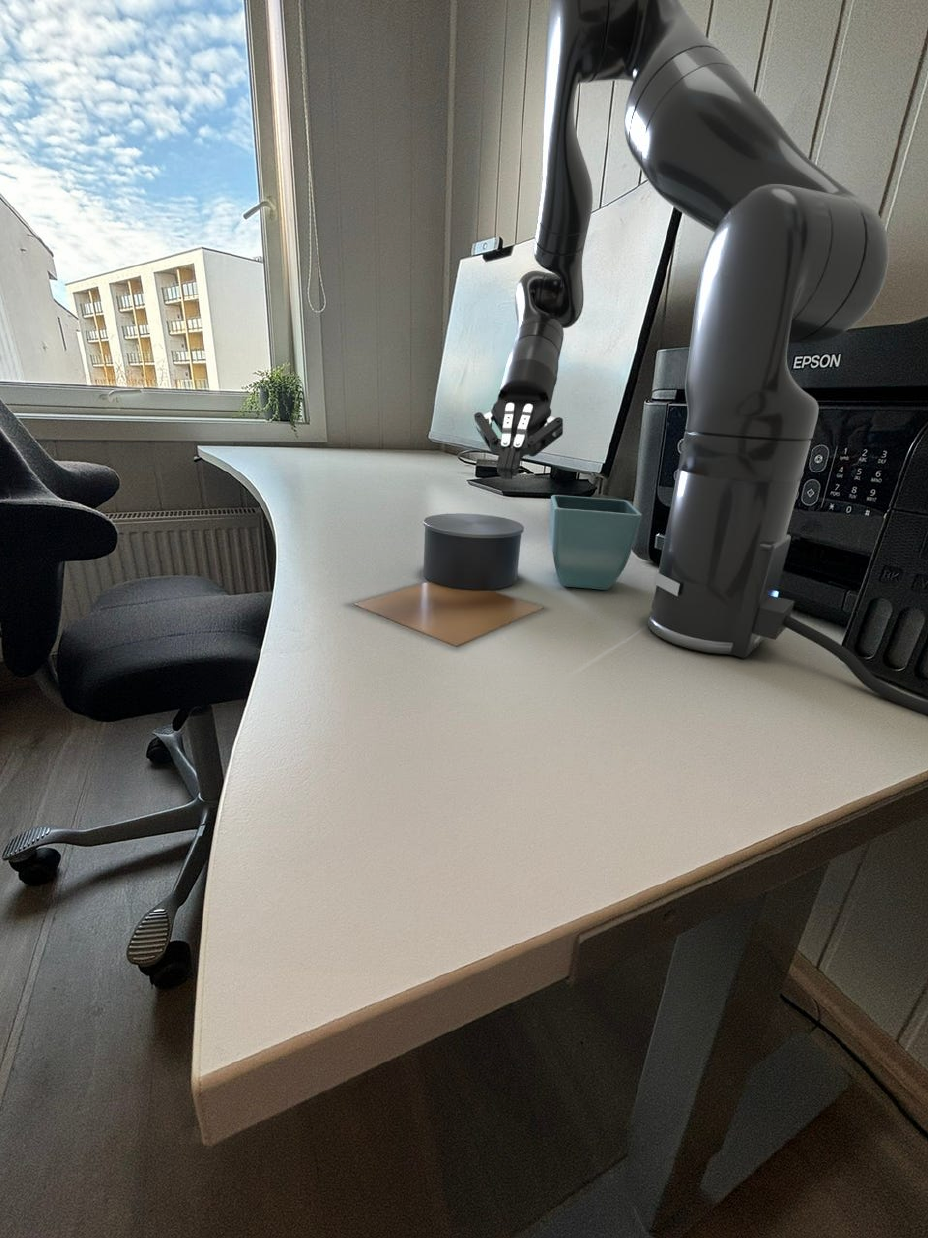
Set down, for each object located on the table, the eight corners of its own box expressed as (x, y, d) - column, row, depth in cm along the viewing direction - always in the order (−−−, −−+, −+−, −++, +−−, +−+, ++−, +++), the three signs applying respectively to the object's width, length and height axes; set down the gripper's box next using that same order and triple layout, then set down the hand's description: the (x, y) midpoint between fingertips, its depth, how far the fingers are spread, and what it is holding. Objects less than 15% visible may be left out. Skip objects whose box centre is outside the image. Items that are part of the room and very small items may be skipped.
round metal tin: (537, 578, 65) (543, 526, 63) (477, 598, 57) (481, 539, 55) (464, 557, 71) (467, 510, 69) (401, 573, 63) (402, 519, 61)
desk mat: (543, 609, 55) (543, 607, 55) (456, 647, 46) (456, 645, 46) (445, 577, 63) (445, 576, 63) (353, 605, 54) (353, 603, 54)
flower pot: (616, 574, 68) (628, 499, 64) (629, 599, 59) (643, 514, 56) (542, 568, 68) (550, 493, 65) (545, 592, 60) (554, 508, 57)
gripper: (481, 355, 79) (453, 452, 73) (576, 358, 76) (555, 460, 70) (488, 395, 86) (462, 488, 80) (575, 400, 83) (555, 497, 77)
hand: (505, 475), depth 75 cm, fingers closed
